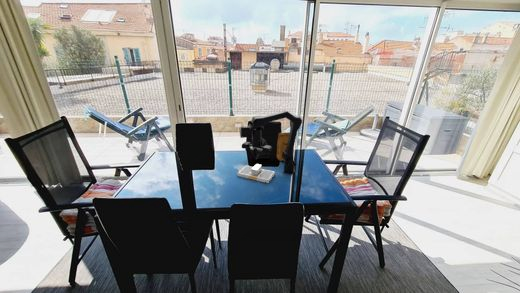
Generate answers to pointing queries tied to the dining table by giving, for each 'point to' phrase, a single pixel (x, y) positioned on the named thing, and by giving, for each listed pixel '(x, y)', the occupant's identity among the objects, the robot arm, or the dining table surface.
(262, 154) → the magazine
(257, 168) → the grey block
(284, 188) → the dining table surface
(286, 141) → the coffee package
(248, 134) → the robot arm
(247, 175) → the rack
